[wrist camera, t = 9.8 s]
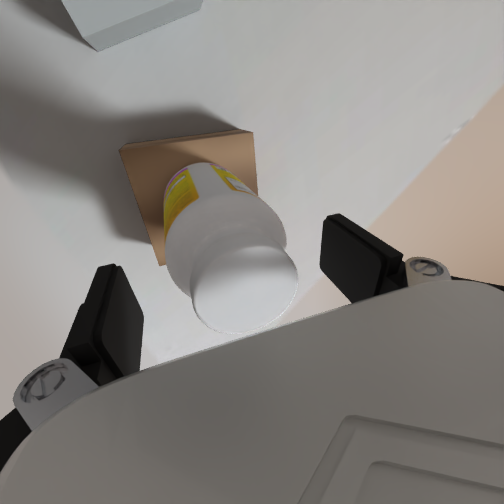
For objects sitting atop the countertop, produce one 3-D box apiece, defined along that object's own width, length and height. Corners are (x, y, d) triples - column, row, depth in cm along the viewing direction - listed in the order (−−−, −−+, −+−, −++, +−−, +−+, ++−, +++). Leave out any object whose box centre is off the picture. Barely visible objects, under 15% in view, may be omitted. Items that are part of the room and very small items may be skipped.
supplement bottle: (172, 242, 22) (181, 367, 11) (154, 165, 18) (142, 239, 8) (244, 230, 23) (312, 329, 13) (240, 156, 20) (326, 208, 9)
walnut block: (125, 144, 21) (118, 150, 17) (239, 129, 23) (253, 132, 19) (159, 246, 26) (159, 266, 23) (250, 226, 28) (261, 241, 25)
